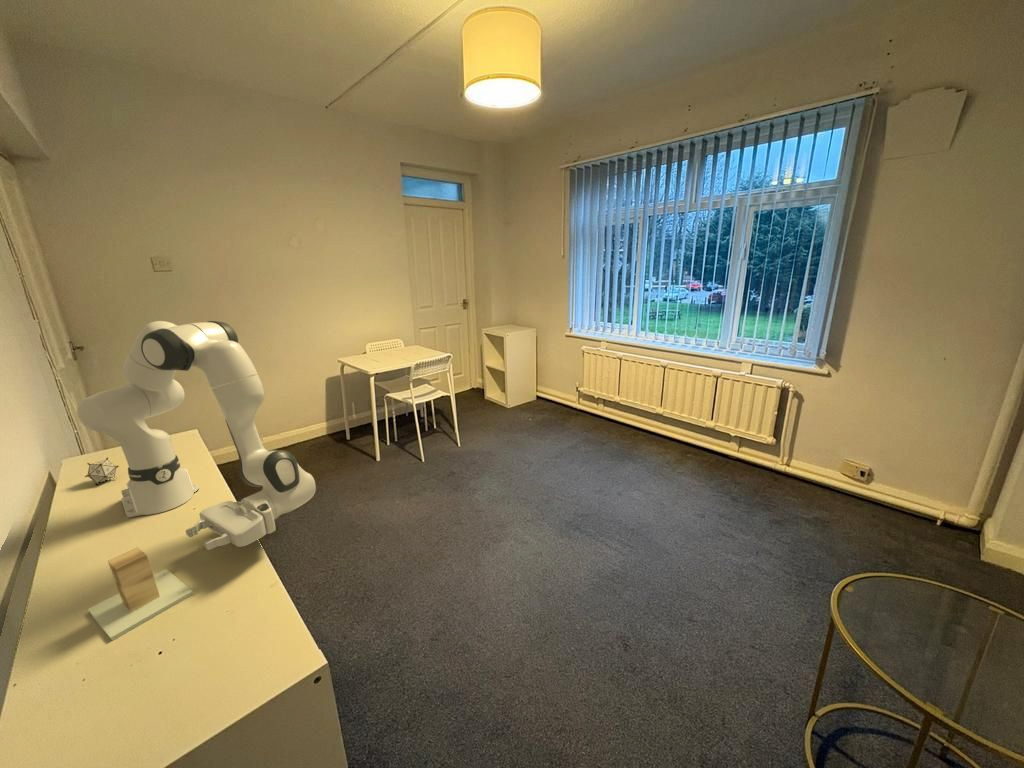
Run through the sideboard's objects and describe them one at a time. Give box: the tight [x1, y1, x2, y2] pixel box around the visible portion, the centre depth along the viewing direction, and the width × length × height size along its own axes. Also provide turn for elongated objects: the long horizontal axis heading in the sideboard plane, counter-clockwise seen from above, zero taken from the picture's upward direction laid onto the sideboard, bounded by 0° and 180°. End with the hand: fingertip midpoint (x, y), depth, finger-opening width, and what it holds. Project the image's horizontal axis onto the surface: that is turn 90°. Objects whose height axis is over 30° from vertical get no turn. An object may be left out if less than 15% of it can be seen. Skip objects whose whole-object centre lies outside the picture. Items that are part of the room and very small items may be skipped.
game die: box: [84, 457, 120, 484], centre depth 144 cm, size 9×8×10 cm
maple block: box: [107, 546, 160, 612], centre depth 89 cm, size 5×5×11 cm
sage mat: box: [87, 568, 194, 641], centre depth 91 cm, size 14×14×1 cm
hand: (196, 540), depth 98 cm, fingers open, 8 cm apart
